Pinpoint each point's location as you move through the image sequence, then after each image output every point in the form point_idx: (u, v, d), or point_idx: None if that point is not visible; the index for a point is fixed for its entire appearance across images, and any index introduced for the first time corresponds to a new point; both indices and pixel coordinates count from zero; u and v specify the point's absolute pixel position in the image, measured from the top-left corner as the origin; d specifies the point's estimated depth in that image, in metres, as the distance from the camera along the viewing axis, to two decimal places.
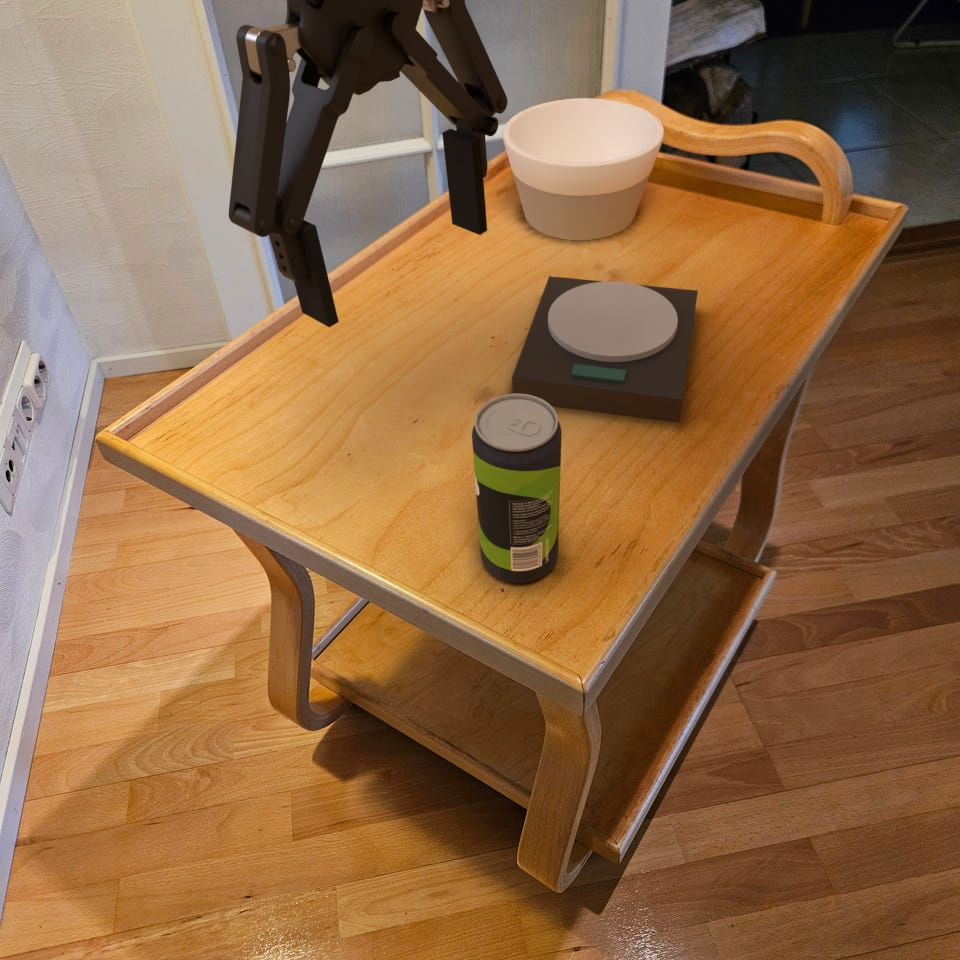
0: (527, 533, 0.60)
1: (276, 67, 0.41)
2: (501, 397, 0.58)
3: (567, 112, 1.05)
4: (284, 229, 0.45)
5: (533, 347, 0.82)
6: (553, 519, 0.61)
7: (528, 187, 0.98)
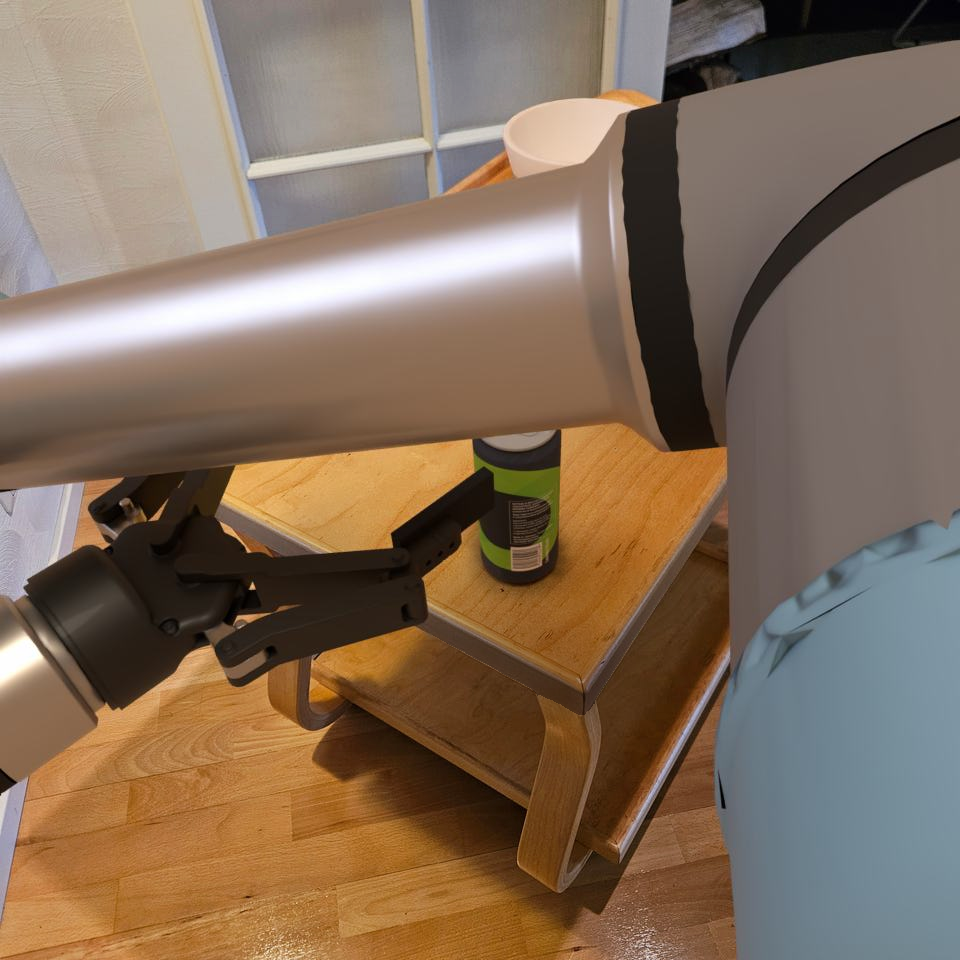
0: (527, 533, 0.60)
1: (247, 638, 0.37)
2: None
3: (567, 112, 1.05)
4: (407, 562, 0.40)
5: None
6: (553, 519, 0.61)
7: None
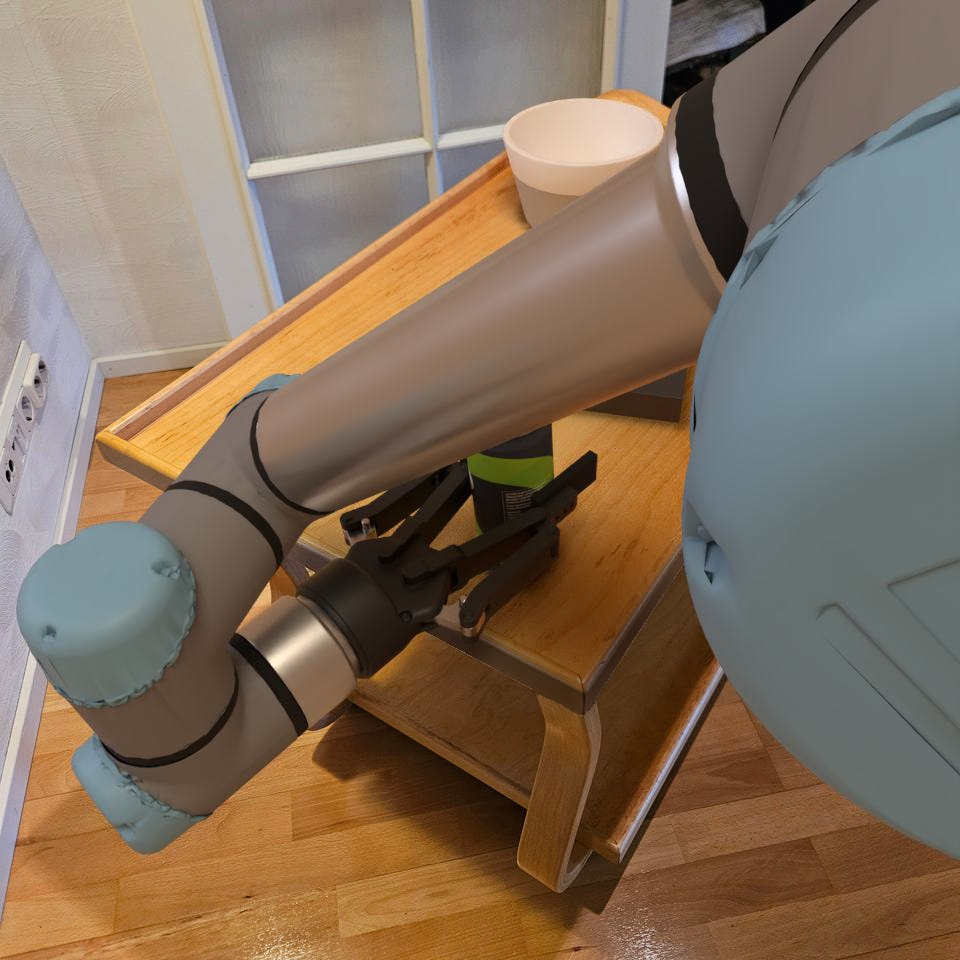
0: None
1: (475, 603, 0.52)
2: None
3: (567, 112, 1.05)
4: (546, 514, 0.58)
5: None
6: None
7: (528, 187, 0.98)
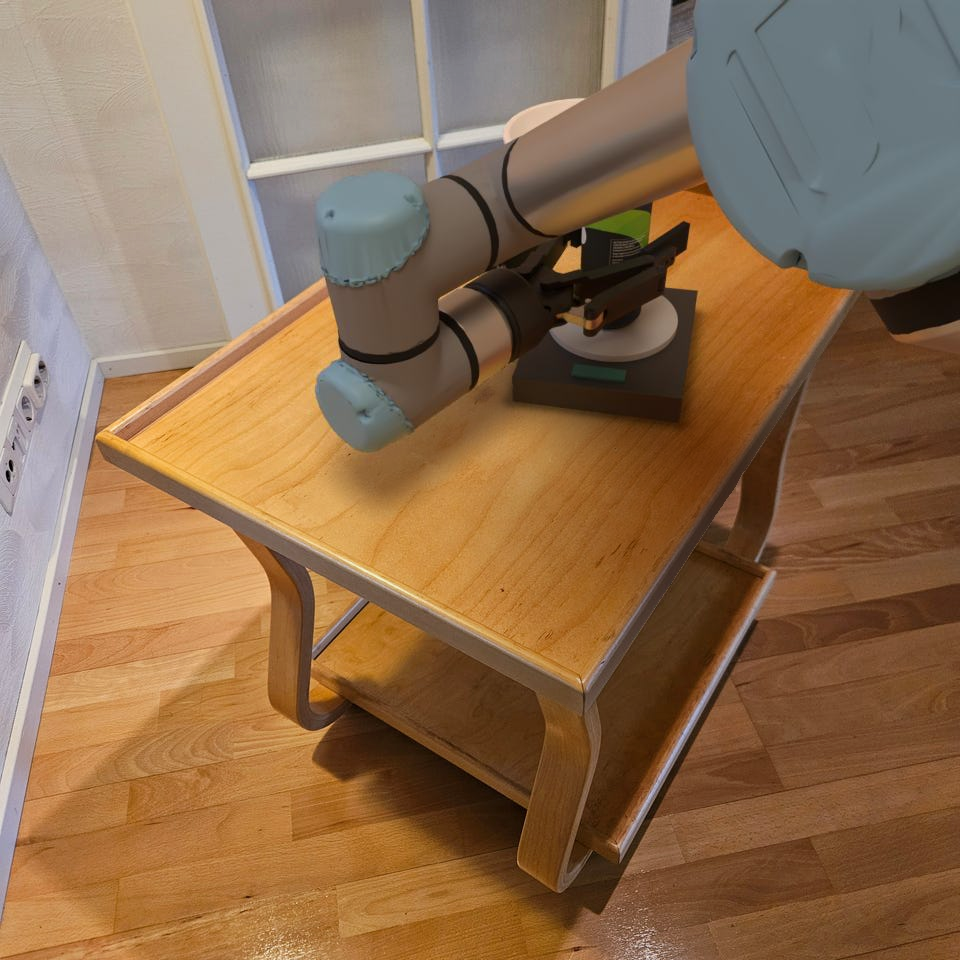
0: None
1: (597, 303, 0.69)
2: None
3: None
4: (654, 259, 0.73)
5: None
6: None
7: None
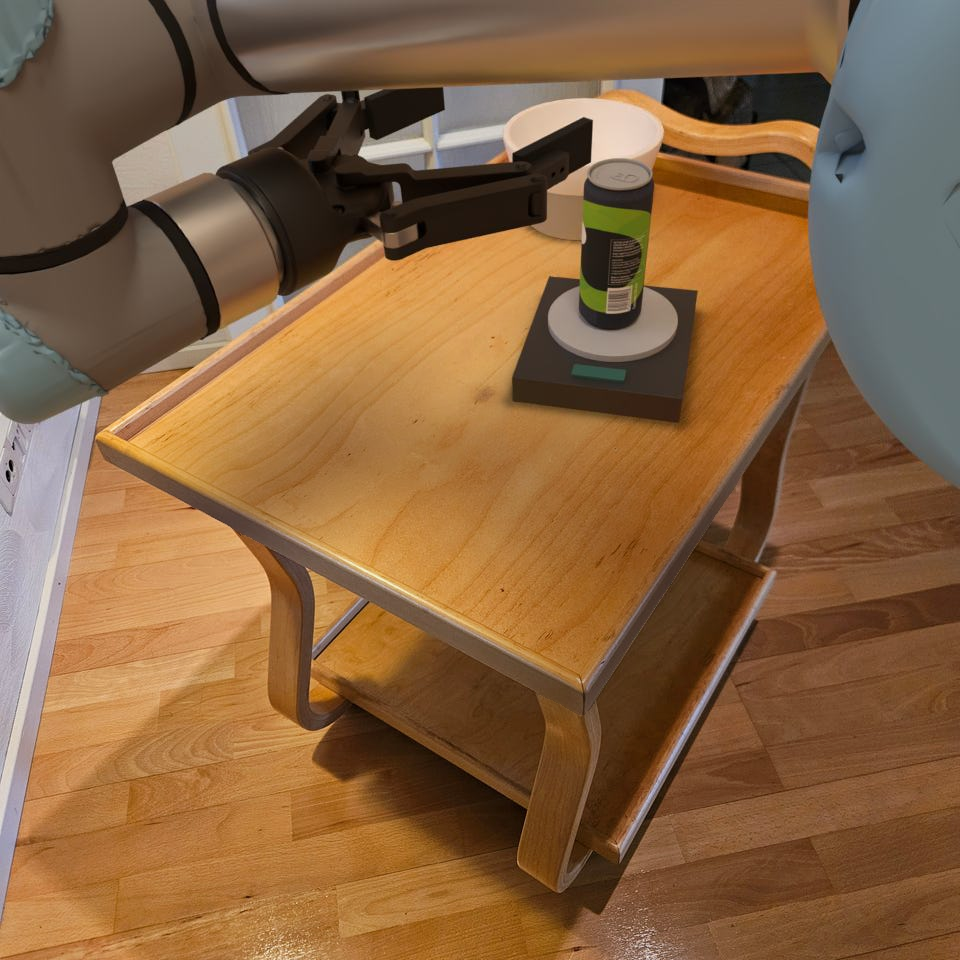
0: (622, 273, 0.77)
1: (405, 209, 0.45)
2: (606, 160, 0.75)
3: (567, 112, 1.05)
4: (529, 169, 0.47)
5: (533, 347, 0.82)
6: (642, 265, 0.78)
7: None
